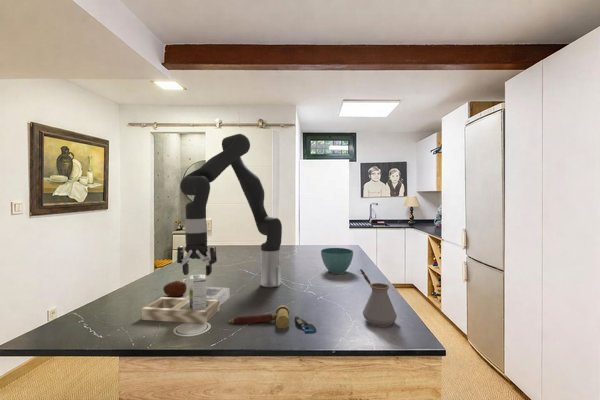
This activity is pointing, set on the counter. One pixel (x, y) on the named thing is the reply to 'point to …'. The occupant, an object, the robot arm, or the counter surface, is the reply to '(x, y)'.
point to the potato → (175, 288)
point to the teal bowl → (337, 259)
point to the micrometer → (304, 325)
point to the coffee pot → (378, 305)
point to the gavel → (266, 318)
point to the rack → (178, 310)
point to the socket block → (217, 294)
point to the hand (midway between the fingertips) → (197, 274)
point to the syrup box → (197, 292)
